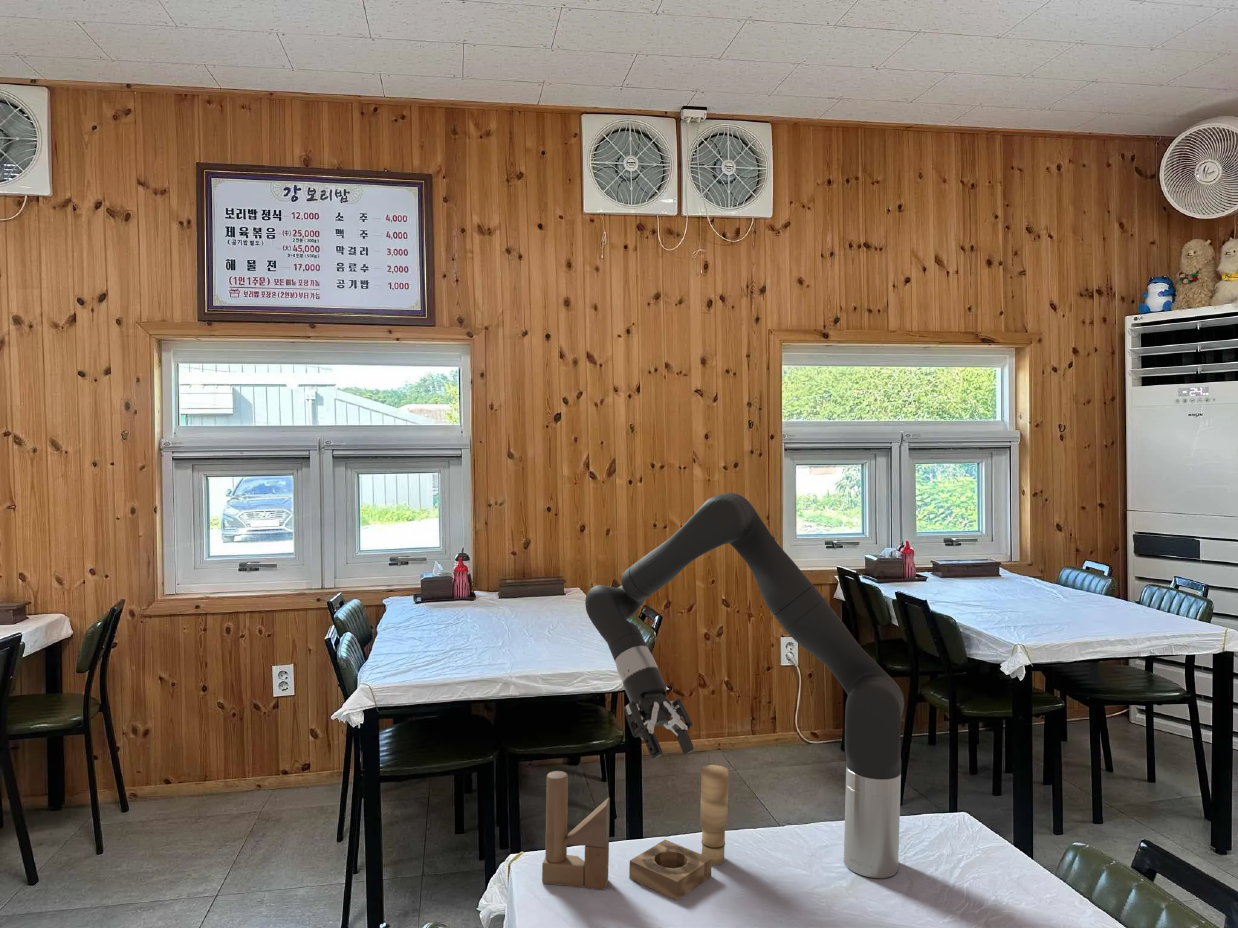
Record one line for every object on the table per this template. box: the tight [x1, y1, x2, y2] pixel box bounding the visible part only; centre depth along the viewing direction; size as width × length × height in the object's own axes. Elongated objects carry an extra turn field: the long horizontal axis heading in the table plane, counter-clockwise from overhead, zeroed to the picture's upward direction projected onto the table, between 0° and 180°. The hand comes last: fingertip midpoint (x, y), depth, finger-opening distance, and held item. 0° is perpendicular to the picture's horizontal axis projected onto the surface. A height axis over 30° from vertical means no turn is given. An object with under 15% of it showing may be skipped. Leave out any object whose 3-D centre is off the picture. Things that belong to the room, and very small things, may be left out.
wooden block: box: [541, 770, 611, 890], centre depth 138 cm, size 4×11×18 cm, turn 81°
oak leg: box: [699, 764, 730, 866], centre depth 146 cm, size 5×5×16 cm
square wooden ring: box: [628, 839, 712, 901], centre depth 140 cm, size 10×10×3 cm
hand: (674, 754), depth 150 cm, fingers open, 8 cm apart
